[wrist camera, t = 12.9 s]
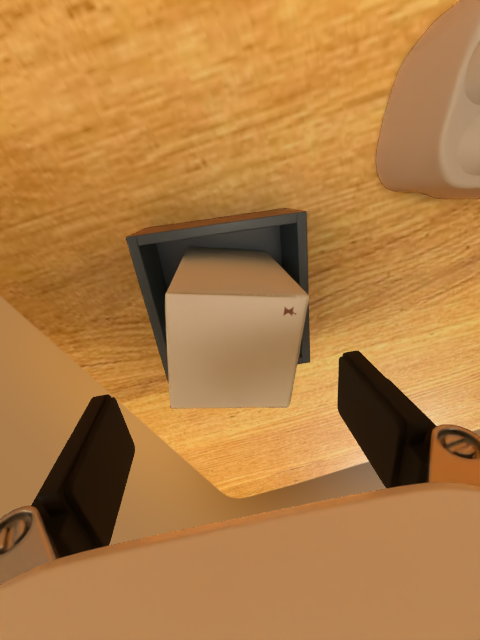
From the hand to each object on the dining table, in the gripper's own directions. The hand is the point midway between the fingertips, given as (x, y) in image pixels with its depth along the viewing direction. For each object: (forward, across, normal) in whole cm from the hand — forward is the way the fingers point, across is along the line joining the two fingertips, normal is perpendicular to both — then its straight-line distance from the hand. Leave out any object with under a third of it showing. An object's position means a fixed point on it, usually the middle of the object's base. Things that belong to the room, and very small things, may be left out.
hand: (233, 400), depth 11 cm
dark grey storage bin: (+16, -1, 0) cm, 17 cm away
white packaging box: (+16, -1, 0) cm, 16 cm away
